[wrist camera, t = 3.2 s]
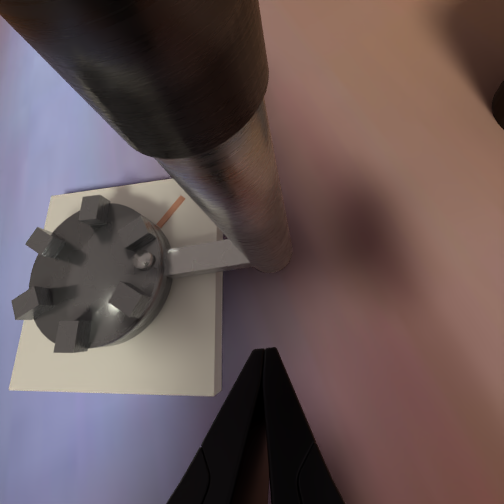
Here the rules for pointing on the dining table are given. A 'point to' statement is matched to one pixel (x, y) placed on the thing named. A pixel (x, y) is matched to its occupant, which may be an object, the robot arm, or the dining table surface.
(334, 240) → the dining table surface
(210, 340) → the base plate
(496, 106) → the dark brown coffee cup
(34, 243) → the grey l-shaped piece
